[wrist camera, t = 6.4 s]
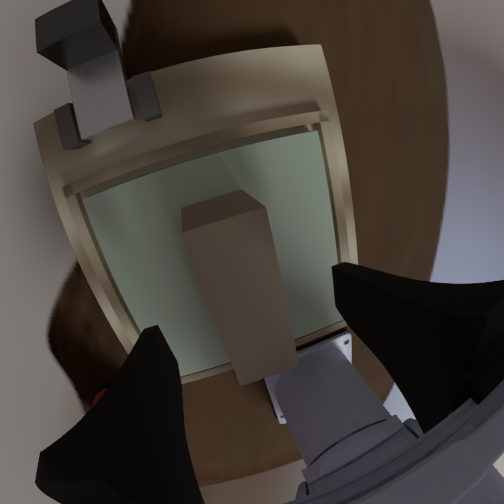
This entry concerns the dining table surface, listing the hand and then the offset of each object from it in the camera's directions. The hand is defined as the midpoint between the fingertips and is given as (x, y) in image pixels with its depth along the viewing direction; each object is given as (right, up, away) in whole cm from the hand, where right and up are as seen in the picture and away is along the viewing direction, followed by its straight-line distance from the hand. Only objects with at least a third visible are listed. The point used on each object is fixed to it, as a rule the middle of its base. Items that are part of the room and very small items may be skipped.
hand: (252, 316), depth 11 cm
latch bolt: (-7, +10, -1) cm, 12 cm away
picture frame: (-2, +4, +6) cm, 8 cm away
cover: (-1, +2, +5) cm, 5 cm away
